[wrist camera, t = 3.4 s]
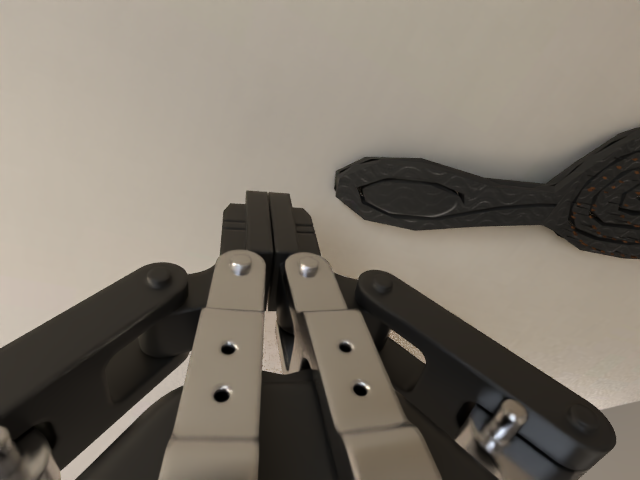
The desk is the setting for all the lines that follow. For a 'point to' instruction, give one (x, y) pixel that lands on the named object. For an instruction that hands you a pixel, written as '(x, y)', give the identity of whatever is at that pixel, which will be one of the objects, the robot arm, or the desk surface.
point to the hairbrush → (508, 197)
